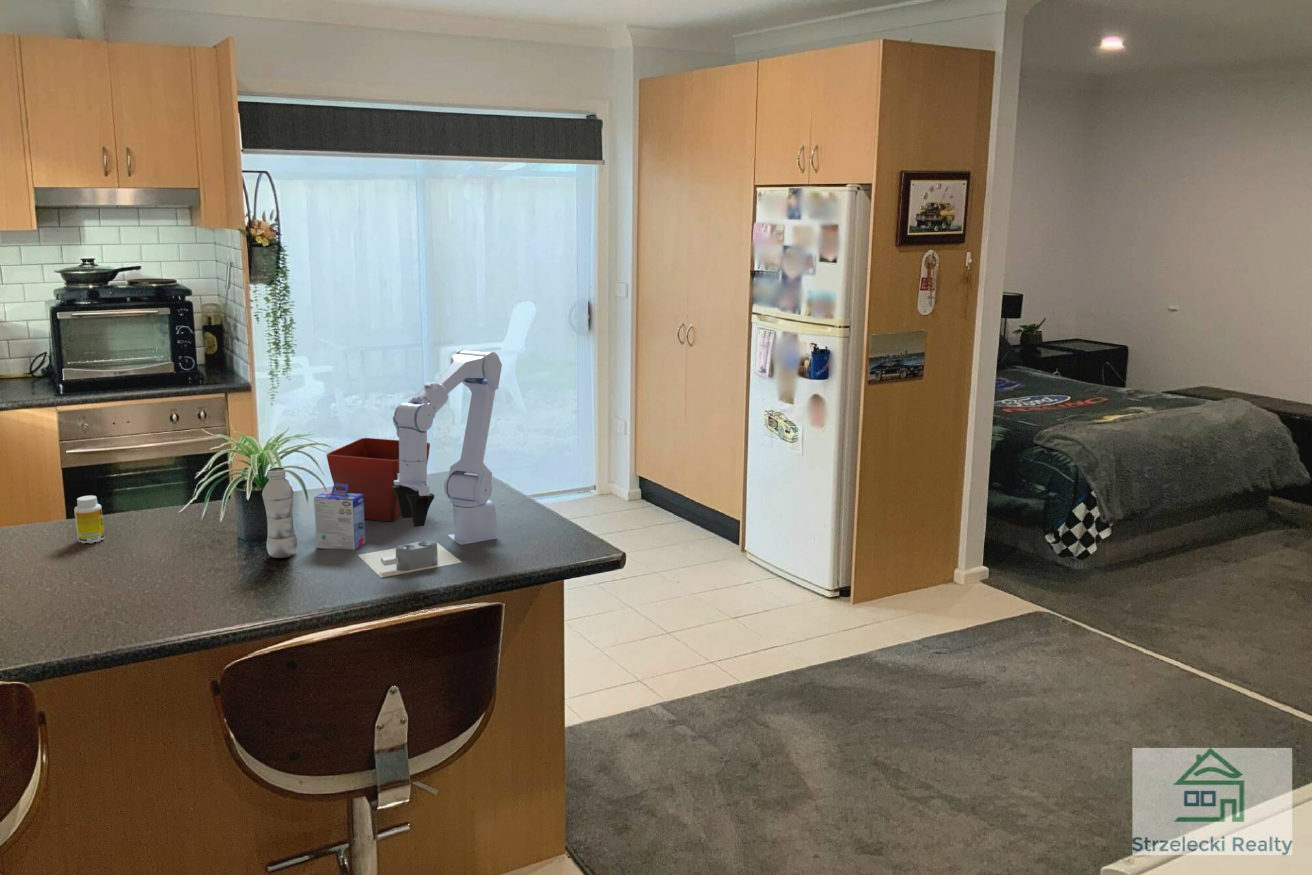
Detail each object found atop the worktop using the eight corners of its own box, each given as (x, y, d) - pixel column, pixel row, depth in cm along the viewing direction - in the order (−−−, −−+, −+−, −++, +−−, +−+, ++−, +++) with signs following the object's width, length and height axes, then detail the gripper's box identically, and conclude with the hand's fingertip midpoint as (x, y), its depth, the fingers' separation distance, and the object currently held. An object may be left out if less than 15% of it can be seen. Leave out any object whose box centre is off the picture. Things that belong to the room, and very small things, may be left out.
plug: (434, 558, 231) (433, 539, 230) (440, 564, 228) (439, 544, 227) (380, 568, 225) (379, 548, 224) (386, 574, 222) (385, 554, 221)
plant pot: (434, 505, 272) (431, 441, 268) (400, 527, 254) (397, 460, 250) (366, 499, 276) (363, 437, 272) (328, 521, 258) (324, 454, 254)
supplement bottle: (108, 541, 242) (103, 498, 240) (81, 546, 239) (75, 502, 237) (102, 534, 247) (97, 492, 244) (75, 539, 243) (70, 497, 241)
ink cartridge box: (367, 544, 242) (364, 483, 239) (356, 552, 237) (352, 490, 234) (327, 541, 244) (323, 480, 241) (315, 548, 239) (311, 487, 235)
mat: (435, 543, 243) (435, 541, 243) (462, 564, 230) (461, 562, 230) (358, 557, 234) (357, 554, 233) (380, 580, 220) (380, 577, 220)
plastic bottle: (305, 553, 235) (299, 467, 231) (282, 563, 229) (276, 474, 225) (283, 549, 238) (276, 463, 233) (260, 558, 232) (253, 471, 227)
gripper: (383, 454, 227) (383, 515, 229) (405, 467, 215) (405, 531, 217) (415, 452, 231) (415, 512, 233) (439, 464, 219) (438, 528, 221)
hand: (412, 521), depth 225 cm, fingers open, 7 cm apart
